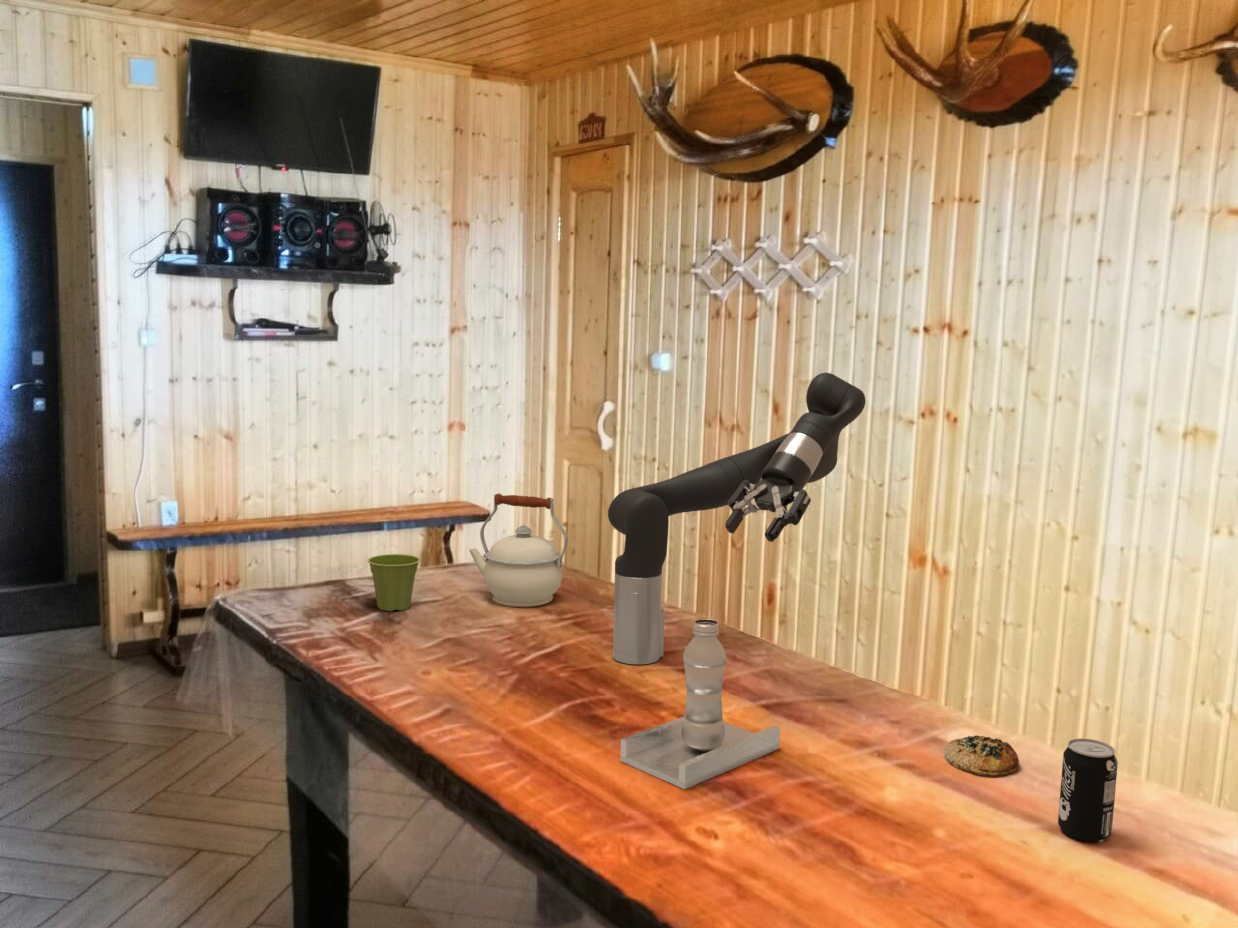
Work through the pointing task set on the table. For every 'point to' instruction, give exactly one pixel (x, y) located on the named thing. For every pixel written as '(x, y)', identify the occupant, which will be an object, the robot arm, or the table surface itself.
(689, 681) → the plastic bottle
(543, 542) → the kettle
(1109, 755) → the beverage can
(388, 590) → the plant pot
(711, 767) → the aluminium track
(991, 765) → the bread roll
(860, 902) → the table surface
